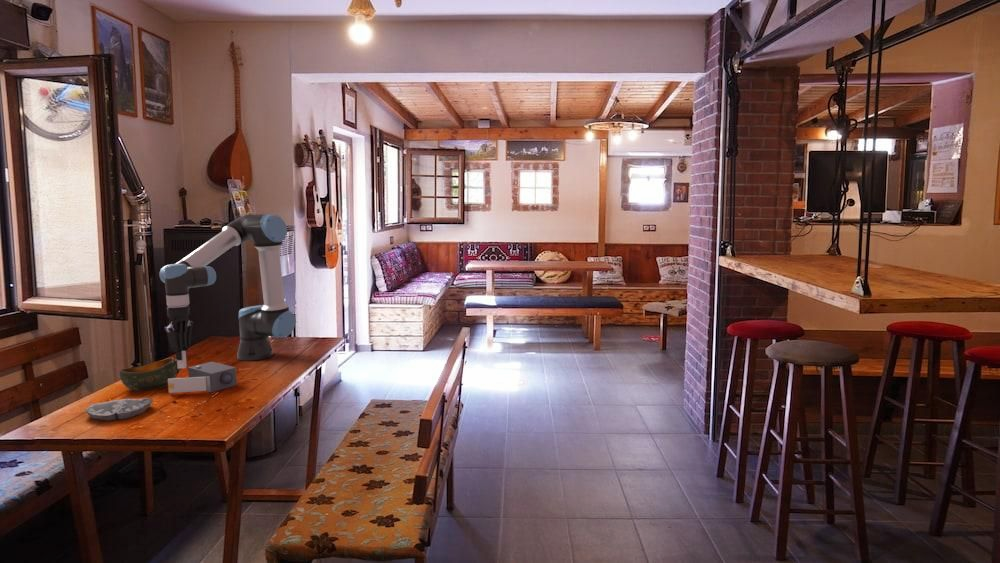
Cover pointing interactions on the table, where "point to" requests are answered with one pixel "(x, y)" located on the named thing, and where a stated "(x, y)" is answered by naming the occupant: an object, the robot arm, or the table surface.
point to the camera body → (215, 374)
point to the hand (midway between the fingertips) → (182, 367)
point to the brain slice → (118, 409)
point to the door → (189, 384)
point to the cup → (150, 375)
